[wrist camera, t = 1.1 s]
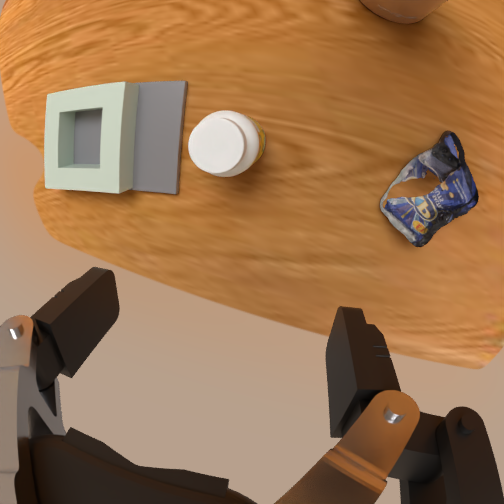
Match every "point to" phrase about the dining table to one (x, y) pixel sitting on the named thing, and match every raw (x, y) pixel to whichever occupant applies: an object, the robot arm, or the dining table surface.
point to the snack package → (433, 192)
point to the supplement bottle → (226, 143)
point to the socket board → (147, 136)
